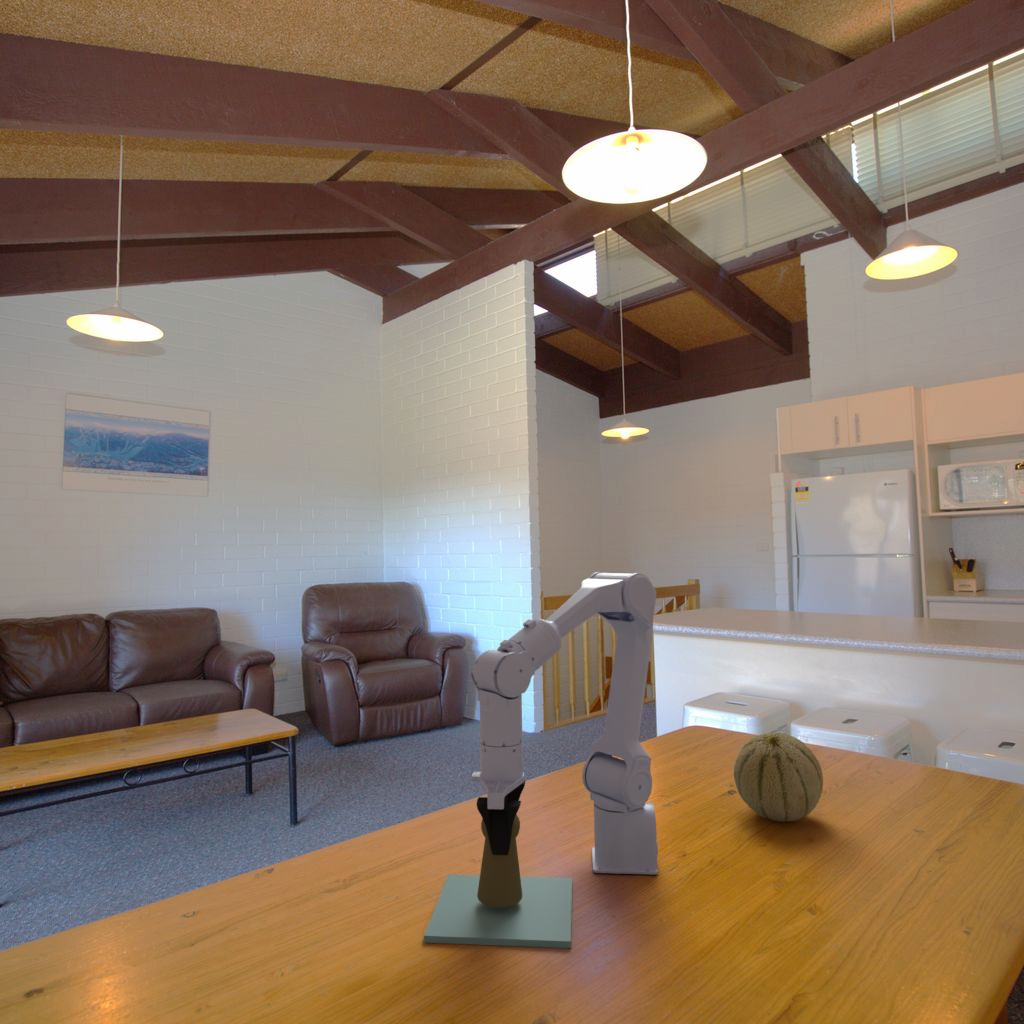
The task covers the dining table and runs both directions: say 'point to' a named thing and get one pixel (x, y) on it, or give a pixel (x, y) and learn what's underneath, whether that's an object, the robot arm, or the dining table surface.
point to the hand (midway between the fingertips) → (502, 844)
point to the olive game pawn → (500, 873)
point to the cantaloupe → (778, 777)
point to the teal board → (503, 915)
